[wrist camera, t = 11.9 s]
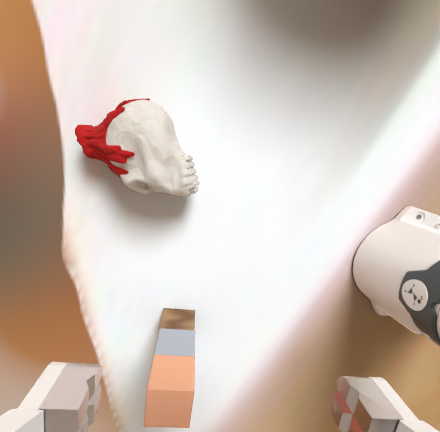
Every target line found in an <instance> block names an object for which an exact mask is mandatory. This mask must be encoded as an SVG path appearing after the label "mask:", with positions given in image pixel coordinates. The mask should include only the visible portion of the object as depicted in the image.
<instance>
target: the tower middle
mask: <svg viewBox="0 0 440 432" xmlns="http://www.w3.org/2000/svg"><path fill="white" fill-rule="evenodd" d="M154 355H172V356H191V357H195V331H193V330H178V329H163V328H160V330H159V334H158V339H157V344H156V348H155V353H154Z"/></svg>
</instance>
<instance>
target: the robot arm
mask: <svg viewBox="0 0 440 432" xmlns="http://www.w3.org/2000/svg"><path fill="white" fill-rule="evenodd" d="M417 215H418V217H417ZM416 217H417V218H416ZM353 275H354V280H355V282H356V285H357V286H358V288H359V290H360V291H361V292H362V293H363V294H364V295H365V296H367V297H368V298H369V299H370V301H371V303H372V306H373V308H374V310H375V312H377V313H378V314H379V315H381V316H389V315H390V316H391V317H392V318H394V319H395V320H397V321H398V322H399V323H401V324H402V325H404V326H405V327H406V328H408V329H409V330H411V331H412V332H414V333H416V334H420V333H421V334H425V335H426V336H427V337H428V338H429V339H430V340H431V341H433V342H434V343H436V344H437V345H439V346H440V216H439V215H436V214H433V213H430V212H427V211H425V210H422V209H419V208H416V207H413V206H408V207H406V208H405V209H403V210H402V211H401V212H400V213H399V214H398V215H397V216H396V217H395V218H394V219H393V220H391V221H390V222H388V223H386V224H383V225H381V226H380V227H378V228H376V229H375V230H374V231H372V232H371V233H370V234H369V235H368V236H367V237H366V238H365V239H364V241H363V242H362V243H361V245H360V246H359V248H358V250H357V252H356V255H355V258H354V263H353ZM101 376H102V366H101V365H95V364H82V363H62V362H51V363H50V364H49V365H48V366H47V367H46V368H45V370H44V371H43V373H42V374H41V375H40V377H39V378H38V380H37V381H36V383H35V384H34V385H33V387H32V388H31V390H30V391H29V392H28V394H27V396H26V397H25V398H24V400H23V401H22V402H21V404H20V405H19V407H18V408H17V409H11V410H9V411H7V412H6V413H4V414H3V415H1V416H0V432H88V426H89V425H90V424H91V423H93V422H94V419H95V416H96V414H97V411H98V407H99V403H100V398H101V385H100V384H99V381H100V378H101ZM336 386H337V388H338V390H339V391H338V392H336V393H335V394H334V395H333V399H332V403H331V404H332V414H333V417H334V420H335V422H336V424H337V426H338V428H339V429H340V430H341V431H342V432H439V431H437V430H436V429H434V428H433V427H432V426H430V425H429V424H427V423H426V422H424V421H419V420H418V419H417V418H416V416H415V415H414V414H413V413H412V412H411V410H410V409H409V408H408V407H407V406H406V404H405V403H404V402H403V401H402V399H401V398H400V397H399V396H398V395H397V393H396V392H395V391H394V390H393V388H392V387H391V386H390V385H389V384H388V382H387V381H386V380H385V379H383V378H382V377H355V376H340V377H339V378H338V381H337V384H336Z"/></svg>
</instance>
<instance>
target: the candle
mask: <svg viewBox="0 0 440 432" xmlns="http://www.w3.org/2000/svg"><path fill="white" fill-rule="evenodd" d="M149 100H150V99H134V100H127V101H123V102H122V103H120V104H119V105H118V106H117V108H116V109H115V110H114V111H112V112H110V113H108V114H107V117H106V118H105V119H104V120H103V122H102V123H101V124H99V125H98V126H95V127H93V126H92V125H77V127H76V128H75V134H76V136H77V141H78V143H79V144H80V145H81V146H82V148H83V153H84V154H85V155H86V156H87V157H89V158H92V159H99V160H101V161H103V162H105V163H106V164H107V165H108V166H109V168H110V169H111V171H113V172H114V173H115V174H116V175H118V176H119V177H120V178H121V179H122V181H123V183H124V185H125V186H127V187H128V188H130V189H132V190H134V191H136V192H139V193H142V194H148V193H149V192H152V191H154V192H156V193H159V192H164V193H168V194H172V195H178V196H188V195H190V194H193V193H196V192H197V191H198V186H196V185H199V182H198V181H196V180H197V179H198V177H197V175H193V174H194V173H196V170H195V168H192V167H194V162H192V161H191V160H192V157H191V156H190V155H186V154H185V153H184V152H183V151H182V150H181V148H180V146H179V143H178V141H177V138H176V134H175V130H174V125H173V122H172V119H171V118H170V116H169V114H168V113H167V112H166V111H165V110H164V109H163V108H162V107H161V106H159V105H157V104H156V103H154V102H151V101H149Z"/></svg>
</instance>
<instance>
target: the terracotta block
mask: <svg viewBox="0 0 440 432" xmlns="http://www.w3.org/2000/svg"><path fill="white" fill-rule="evenodd" d="M194 376H195V357H191V356H172V355H154V359H153V364H152V369H151V373H150V378H149V383H148V387H147V396H146V407H145V418H144V427H176V428H189V426H190V419H191V412H192V404H193V397H194Z"/></svg>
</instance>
